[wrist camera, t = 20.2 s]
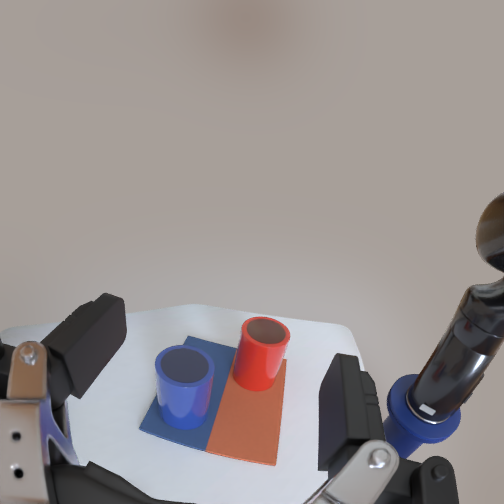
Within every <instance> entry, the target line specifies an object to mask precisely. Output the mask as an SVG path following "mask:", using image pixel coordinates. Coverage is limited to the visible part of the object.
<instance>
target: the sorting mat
mask: <svg viewBox="0 0 504 504" xmlns="http://www.w3.org/2000/svg"><path fill="white" fill-rule="evenodd" d="M183 345H187V346H192V347H196V348H198V349H201V350H202V351H204V352H205V353H207V354H208V355H209V356H210V357H211V359H212V360H213V362H214V366H215V371H214V378H213V385H212V392H211V400H210V407H209V414H208V418H207V420H206V421H205V422H204V423H203V424H202V425H201V426H199V427H197V428H195V429H190V430H181V429H176V428H174V427H171V426H170V425H168V424H167V423H166V422H164V420H163V419H162V418H161V416H160V414H159V408H158V398H157V395H156V397H155V399H154V400H153V402H152V404H151V406H150V408H149V410H148V412H147V414H146V416H145V418H144V420H143V422H142V423H141V425H140V427H139V429H140V430H142V431H144V432H147V433H150V434H152V435H155V436H158V437H161V438H163V439H166V440H169V441H172V442H175V443H178V444H181V445H185V446H188V447H191V448H195V449H198V450H202V451H206V452H209V453H213V454H217V455H221V456H225V457H230V458H234V459H239V460H244V461H249V462H255V463H260V464H267V465H273V466H275V465H276V459H277V451H278V442H279V434H280V425H281V415H282V405H283V395H284V384H285V372H286V360H287V359H283V360H282V363H281V366H280V369H279V372H278V374H277V377H276V380H275V383H274V384H273V386H272V387H270V388H269V389H267V390H264V391H250V390H247V389H244V388H243V387H241V386H240V385H238V384H237V383H236V381H235V380H234V378H233V368H234V363H235V358H236V353H237V348H233V347H229V346H225V345H221V344H217V343H213V342H209V341H205V340H202V339H198V338H195V337H191V336H188V337H187V339H186V340H185V342H184V344H183Z"/></svg>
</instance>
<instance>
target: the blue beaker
mask: <svg viewBox="0 0 504 504" xmlns="http://www.w3.org/2000/svg"><path fill="white" fill-rule="evenodd" d="M214 371H215V366H214V362H213V360H212V359H211V357H210V356H209V355H208V354H207V353H205V352H204V351H202V350H201V349H198V348H196V347H192V346H187V345H177V346H172V347H169V348H166V349H165V350H163V351H162V352H161V353H160V354H159V355H158V356H157V358H156V361H155V374H156V387H157V398H158V408H159V414H160V416H161V418H162V419H163V420H164V422H166V423H167V424H168V425H170V426H171V427H174V428H176V429H181V430H190V429H195V428H197V427H199V426H201V425H202V424H203V423H204V422H205V421H206V420H207V418H208V414H209V407H210V400H211V392H212V385H213V378H214Z"/></svg>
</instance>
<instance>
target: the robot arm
mask: <svg viewBox="0 0 504 504" xmlns="http://www.w3.org/2000/svg"><path fill="white" fill-rule="evenodd" d="M476 247H477V250H478V253H479V255H480V257H481V258H482V260H483V261H484V262H485V263H487V264H488V265H489V266H491V267H493V268H494V269H497V270H499V271H501V272H503V273H504V193H501V194H500V195H498V196H497V197H496V198H494V199H493V200H492V201H491V202H490V203H489V204H488V206H487V207H486V209H485V210H484V212H483V213H482V215H481V217H480V220H479V222H478V226H477V230H476ZM126 333H127V327H126V316H125V304H124V300H123V299H122V298H119V297H117V296H114V295H111V294H108V293H103V294H102V295H101V296H100V297H99V298H98V299H96V300H95V301H94V302H93V301H90V302H88V303H86V304H83V305H81V306H79V307H78V308H77V309H76V310H75V311H74V312H73V313H72V315H69V316H68V317H67V318H66V319H65V321H63V322H62V323H60V324H59V325H58V326H57V327H56V328H55V329H54V330H53V331H52V332H51V333H50V334H49V335H48V336H46V337H45V338H44V339H43V340H42V341H41V342H40V343H39V342H36V341H27V342H24V343H22V344H20V345H18V346H17V347H14V346H10V345H7V344H3V343H2V341H1V339H0V504H195V503H183V502H173V501H165V500H158V499H154V498H151V497H150V496H148V495H146V494H145V493H143V492H142V491H141V490H139V489H138V488H136V487H135V486H133V485H132V484H130V483H129V482H128V481H126V480H125V479H124V478H122V477H121V476H119V475H117V474H115V473H113V472H111V471H109V470H106V469H105V468H103V467H101V466H99V465H97V464H95V463H93V462H91V461H89V463H88V464H87V466H81V465H79V461H78V458H77V455H76V453H75V450H74V448H73V444H72V439H71V432H70V423H69V414H68V403H67V400H66V399H67V397H68V396H69V395H70V394H71V395H73V396H75V397H77V398H78V399H81V398H82V396H83V395H84V394H85V392H86V391H87V390H88V388H89V387H90V386H91V384H92V383H93V382H94V380H95V379H96V378H97V376H98V375H99V374H100V372H101V371H102V370H103V368H104V367H105V366H106V365H107V363H108V362H109V361H110V359H111V358H112V357H113V356H114V354H115V353H116V352H117V351H118V349H119V348H120V347H121V345H122V344H123V342H124V340H125V338H126ZM503 342H504V277H503V278H502V279H500V280H499V281H497V282H494V283H491V284H481V285H472V286H471V287H469V288H468V289H467V290H466V292H465V294H464V296H463V298H462V300H461V302H460V304H459V306H458V308H457V310H456V312H455V314H454V316H453V318H452V320H451V322H450V324H449V326H448V327H447V329H446V331H445V333H444V335H443V336H442V338H441V340H440V342H439V343H438V345H437V347H436V348H435V350H434V352H433V353H432V355H431V357H430V358H429V360H428V361H427V363H426V365H425V366H424V368H423V369H422V371H421V372H420V374H419V375H418V377H417V378H416V380H415V381H414V382H413V384H412V385H411V386H410V387H409V389H408V390H407V392H406V395H405V401H406V405H407V407H408V409H409V411H410V412H411V413H412V414H413V416H414V417H416V418H417V419H418V420H420V421H421V422H423V423H426V424H430V425H438V424H441V423H443V422H445V421H446V420H447V419H448V417H451V416H453V415H454V413H455V412H456V411H457V410H458V409H459V408H460V406H461V405H462V404H463V403H465V402H466V401H467V400H468V399H469V398H470V396H471V395H472V394H473V393H472V392H473V390H474V389H475V388H476V387H477V385H478V384H479V383H480V381H481V380H482V378H483V377H484V371H485V370H486V369H487V367H488V366H489V364H490V363H491V361H492V360H493V358H494V357H495V355H496V353H497V352H498V350H499V349H500V347H501V345H502V344H503ZM378 404H379V402H378V397H377V392H376V387H375V383H374V381H373V380H372V378H371V376H370V375H369V374H368V372H365V371H360V366H359V360H358V357H357V356H352V355H346V354H340V353H337V354H336V355H335V356H334V358H333V360H332V362H331V364H330V367H329V369H328V371H327V373H326V375H325V377H324V379H323V381H322V383H321V386H320V391H319V448H318V471H328V479H327V480H326V481H325V482H324V483H323V484H322V485H321V486H320V487H319V488H318V489H317V490H316V491H315V492H314V493H313V494H312V495H311V496H310V497H309V498H308V499H307V500H306V501H305V502H304V503H303V504H459V499H458V492H457V487H456V486H457V485H456V479H455V474H454V469H453V467H452V465H451V463H450V462H449V461H448V460H447V459H445V458H443V457H440V456H432V457H430V458H428V459H427V460H425V461H424V462H423V463H419V462H414V461H411V460H407V459H403V458H401V457H399V456H398V453H397V451H396V450H395V448H394V447H393V446H392V445H390V444H389V443H387V442H386V440H385V435H384V429H383V423H382V418H381V412H380V407H379V406H378Z"/></svg>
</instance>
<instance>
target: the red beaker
mask: <svg viewBox="0 0 504 504" xmlns="http://www.w3.org/2000/svg"><path fill="white" fill-rule="evenodd" d="M289 340H290V332H289V330H288V328H287V327H286V326H285V325H284V324H282V323H281V322H279V321H277V320H275V319H272V318H268V317H253V318H250V319H248V320H246V321H245V322H244V323H243V325H242V329H241V334H240V339H239V344H238V348H237V353H236V358H235V363H234V368H233V378H234V380H235V381H236V383H237V384H238V385H240V386H241V387H243V388H244V389H247V390H250V391H264V390H267V389H269V388H270V387H272V386H273V384H274V383H275V380H276V377H277V374H278V372H279V369H280V366H281V363H282V360H283V357H284V354H285V352H286V349H287V346H288V343H289Z"/></svg>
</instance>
